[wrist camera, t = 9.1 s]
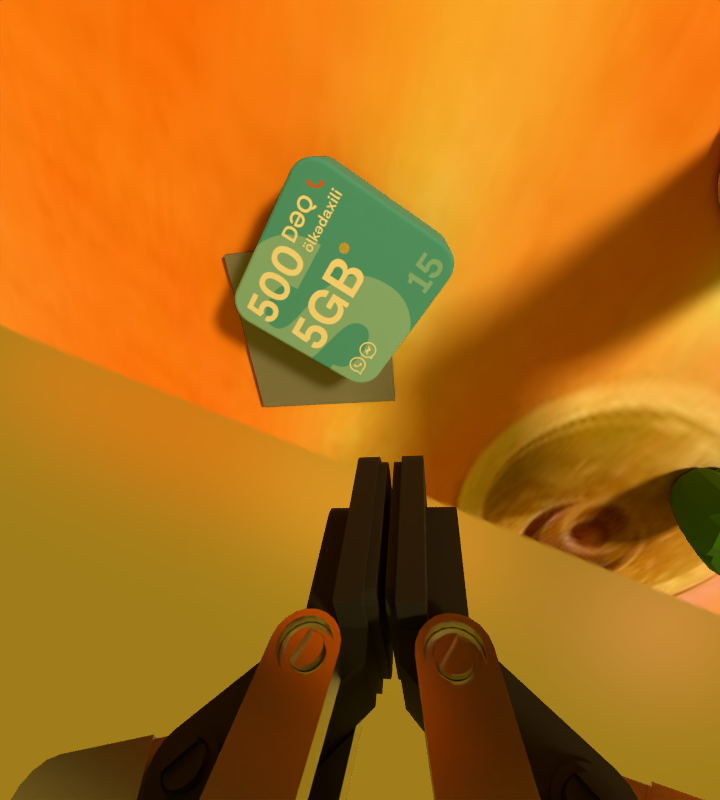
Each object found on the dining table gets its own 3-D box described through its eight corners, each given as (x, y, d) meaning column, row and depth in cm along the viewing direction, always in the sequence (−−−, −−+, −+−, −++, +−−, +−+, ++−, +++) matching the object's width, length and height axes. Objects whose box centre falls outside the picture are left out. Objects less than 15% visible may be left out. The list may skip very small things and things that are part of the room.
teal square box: (366, 391, 32) (226, 310, 30) (370, 366, 36) (246, 292, 33) (465, 258, 26) (301, 143, 24) (456, 244, 30) (314, 145, 28)
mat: (383, 238, 31) (383, 239, 30) (394, 397, 38) (394, 400, 38) (226, 254, 32) (223, 255, 32) (265, 404, 39) (264, 407, 39)
